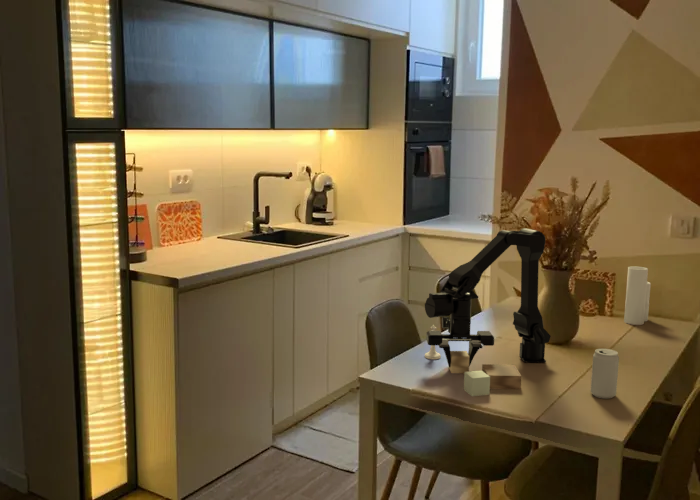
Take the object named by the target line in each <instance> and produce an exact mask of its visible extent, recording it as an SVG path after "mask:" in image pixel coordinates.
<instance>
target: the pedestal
mask: <svg viewBox="0 0 700 500" xmlns="http://www.w3.org/2000/svg"><path fill="white" fill-rule="evenodd" d="M481 366H482V367H481V370H482V371H483V372H484V373H486V374H487V375H489V376H490V389H492V390H493V389H494V390H495V389H496V390H497V389H500V390H505V389H506V390H508V389H509V390H521V389H522V375H521V373H520V372H519V370H518V368H517V366H516V364H486V363H485V364H483V363H482V364H481Z"/></svg>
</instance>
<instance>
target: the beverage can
mask: <svg viewBox="0 0 700 500" xmlns="http://www.w3.org/2000/svg"><path fill="white" fill-rule="evenodd" d="M619 361H620V356H619V352H618V351H617V350H615V349H611V348H610V349H609V348H596V349H595V350H594V353H593V355H592V365H591V377H590V379H591V380H590V393H591V394H592V395H593V396H594V397H596V398H598V399H606V400H607V399H612V398H614V397H615V396H616V395H617V390H618V389H617V388H618V379H619V378H618V376H619Z"/></svg>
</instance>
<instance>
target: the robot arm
mask: <svg viewBox="0 0 700 500" xmlns="http://www.w3.org/2000/svg"><path fill="white" fill-rule="evenodd" d="M511 246H516V250H517V253H518V254H519V257H520V260H521V267H520V268H521V270H520V271H521V272H520V273H521V275H520V276H521V277H520V279H521V282H520V307H519V309H518V310H517V311H513V315H512V317H513V321H512V325H514V330H516V331H517V334H518V337H520V338H521V342H520V343H519V357H520V359H521V360H522V361H523V362H524V363H546V362H547V360H546V359H545V351H546V350H545V349H546V344H548V343H549V342H550V339H551V334H550V333H549V332H548V331H547V330H546V329H545V327H544V326H545V325H544V319H543V316H542V313H541V312H540V309H539V267H540V266H539V264H540V263H539V261H540V258H541V256H543V253H544V252H545V247H546V235H544V233H543V232H542V231H539V230H536V229H532V228H526V227H525V228H521V229H520V230H504V229H502V230H500V231H498V232H497V234H496V236H495V237H494V238H492V240H491V241H489V242H488V243H487V244H486V245H485V246H484V247H483V248H482V249H481V250H480V251H479V252H478V253H477V254H476V255H475V256H474V257H473V258H472V259H471V260H469V261H468V262H465V263H463V264H461V265H459V266H457V267H456V268H455V269H453V270H452V271H451V272H450V273H449V274H448V279H447V280H446V282H445V283H444V285H443V286H442V287H441V289H440V292H430V293H428V298H426V300H425V303H424V311H425V313H426V316H427V317H428V318H430V319H431V318H432V319H434V318H441V328H442V329H447V332H448V334H445V333H444V334H443V333H442V332H441V331H440V330H435V331H431V330H427V332H426V333H425V334H426V335H425V340H426V343H427V345H429V346H431V345H435V346H438V348H440V349H442V350H443V352H444V355H445V358H446V359H445V360H446V361H447V365H448V368H449V367H450V366H451V357H450V351H451V346H450V344H449V342H468V351H467V353H468V355H469V367H470V365H472V362H473V361H474V358H475V356H476V355H477V353H478V351H479V350H480V349H483V347H484V346H489V347H490V346H491V347H492V346H495V337H494V335H493V333H492V332H490V330H477V332H476V334H471V322H472V321H471V320H472V319H471V318H472V300H475V299H476V300H477V299H478V298H479V295H477V294H476V293H475V291H474V290H475V288H476V286H477V285H478V284H479V283H480V281H481V277H482V275H483V273H484V272H485V271H487V269H488V268H489V267H490V266H491V265H492V264H494V263H495V261H496V260H498V259H499V258H500V256H502V255H503V254H504V253H505V252H506V250H508V249H509V247H511ZM448 316H450V318H449V317H448Z"/></svg>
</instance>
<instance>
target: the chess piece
mask: <svg viewBox="0 0 700 500" xmlns="http://www.w3.org/2000/svg"><path fill="white" fill-rule="evenodd" d="M430 329H431V330H430V331H436V330H437V326H435V325H434V324H432V326H430ZM441 357H442V356H441V353H439V352H437V351H436V345H430V349H429V351H428V352H425V353H424V358H425V359H428V360H439V359H441Z"/></svg>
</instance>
